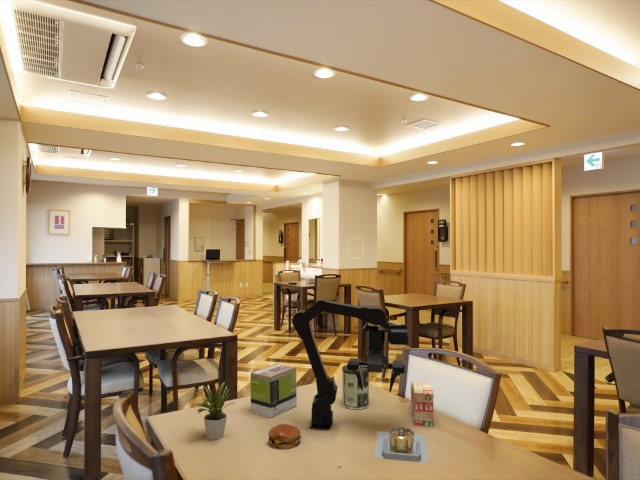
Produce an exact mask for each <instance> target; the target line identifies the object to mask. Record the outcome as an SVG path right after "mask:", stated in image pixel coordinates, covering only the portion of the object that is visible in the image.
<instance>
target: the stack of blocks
mask: <svg viewBox="0 0 640 480" xmlns="http://www.w3.org/2000/svg"><path fill="white" fill-rule="evenodd" d="M433 391H434V390H433V388H432V385H431V382H430V381H410V408H411V415H412V418H413V419H412V421H413V425H414V426H421V427H422V426H424V427H434V392H433Z"/></svg>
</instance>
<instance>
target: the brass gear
mask: <svg viewBox="0 0 640 480" xmlns="http://www.w3.org/2000/svg"><path fill="white" fill-rule="evenodd" d="M390 451H391V452H395V453H405V454H411V453H413V435H411V433H409V432H406V433H405V432H403V431H400V430H399V432H396V431H393V432H392V434H391V433H390Z"/></svg>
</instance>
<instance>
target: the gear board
mask: <svg viewBox="0 0 640 480" xmlns="http://www.w3.org/2000/svg"><path fill="white" fill-rule="evenodd" d="M373 458H374V459H383V460H393V461H394V460H395V461H404V462H413V463H424V464H425V463H426V464H430V457H429V449H428V440H427V435H426V434H425V435H424V434H416V433H415V434H414V441H413V453H411V454H405V453H395V452H391V451H390V431H380V430H379V431H377V435H376V442H375V449H374V455H373Z"/></svg>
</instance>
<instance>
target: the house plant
mask: <svg viewBox="0 0 640 480" xmlns="http://www.w3.org/2000/svg"><path fill="white" fill-rule="evenodd" d="M225 383H226V382H225V381H224V382H222V383H221V384H220V385H218V386H217V388H216V390H215V394H213V393H212V390H211V389H209V388H207V387H206V386H205V385H201V386H202V387H203V388H204V389H205V391H206V393H207V396H208V397H207V396H205V395H204V394H202V393H199V392H196V395H198V396H202V397H203V398H202V400H203V402H202V403H201V402H200V403H199V402H196V403H193V407H194V408H195V407H197V408H198V409H197V410H196V412H197V414H200V413H202V412H207V414H205V415H204V416H203V419H204V420H203V421H204V427H205V432H206V433H205V434H206V438H207V439H208V440H212V441H216V440H219V439H222V438H224V435H225V430H226V425H227V419H228V418H227V417H228V415H227V413H226V412H225V411H223V410H225V408H226V407H228V406H229V405H233V404H235V405H236V403H235V402H231V403H228V404H226V405H225V402H226V401H227V400H228V398H229V397H230V396H231V395H232V393H230V394H229V391H230V388H228V389H227V387H228V385H226V384H225ZM225 385H226V386H225ZM224 386H225V387H224ZM223 389H224V390H223ZM228 394H229V395H228ZM227 395H228V396H227ZM224 405H225V406H224Z"/></svg>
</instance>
